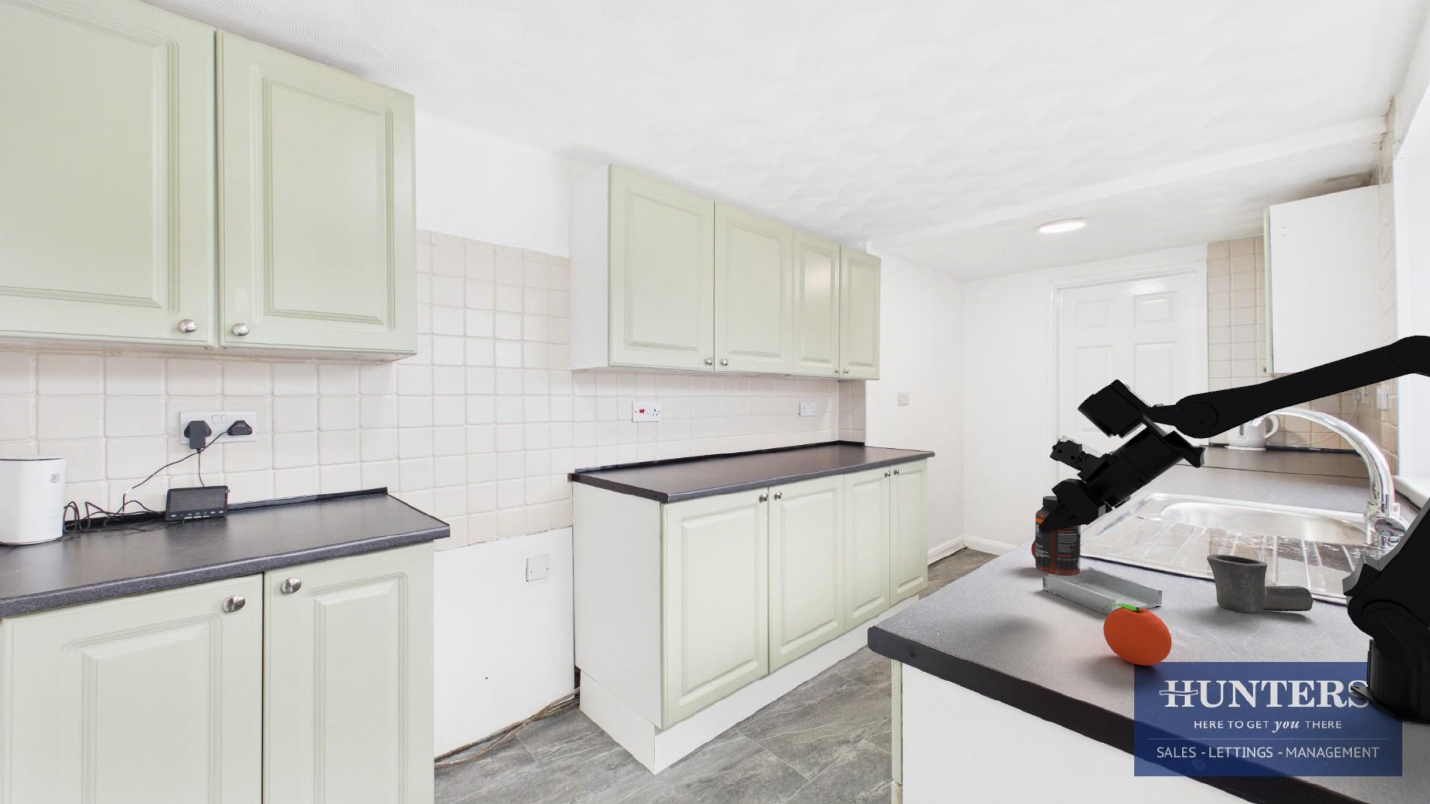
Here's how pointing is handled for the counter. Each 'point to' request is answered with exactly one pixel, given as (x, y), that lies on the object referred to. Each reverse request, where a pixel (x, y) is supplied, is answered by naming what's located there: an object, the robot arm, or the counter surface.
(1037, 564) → the supplement bottle
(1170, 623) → the counter surface
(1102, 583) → the aluminium tray
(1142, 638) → the clementine
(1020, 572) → the counter surface
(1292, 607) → the pipe
